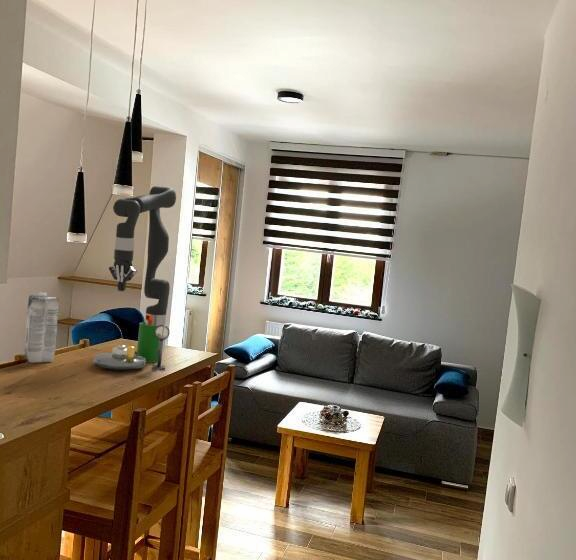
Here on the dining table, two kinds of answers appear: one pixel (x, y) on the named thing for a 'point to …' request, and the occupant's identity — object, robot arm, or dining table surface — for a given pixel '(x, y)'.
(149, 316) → the green bottle
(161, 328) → the metal disc on rod
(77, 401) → the dining table surface
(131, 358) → the turntable
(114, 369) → the turntable base
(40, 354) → the juice carton
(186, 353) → the dining table surface
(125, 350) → the cover
